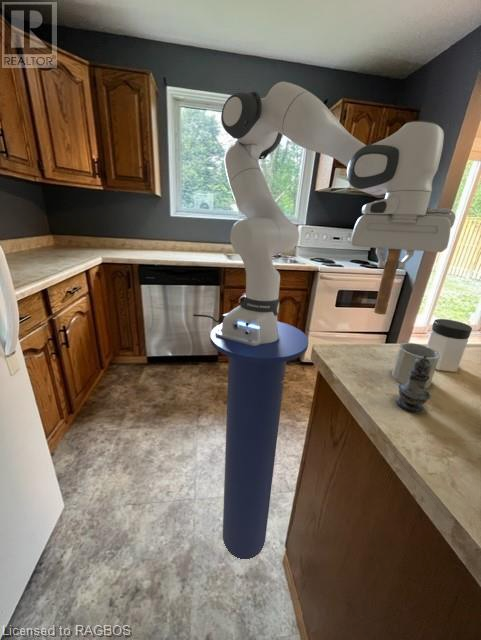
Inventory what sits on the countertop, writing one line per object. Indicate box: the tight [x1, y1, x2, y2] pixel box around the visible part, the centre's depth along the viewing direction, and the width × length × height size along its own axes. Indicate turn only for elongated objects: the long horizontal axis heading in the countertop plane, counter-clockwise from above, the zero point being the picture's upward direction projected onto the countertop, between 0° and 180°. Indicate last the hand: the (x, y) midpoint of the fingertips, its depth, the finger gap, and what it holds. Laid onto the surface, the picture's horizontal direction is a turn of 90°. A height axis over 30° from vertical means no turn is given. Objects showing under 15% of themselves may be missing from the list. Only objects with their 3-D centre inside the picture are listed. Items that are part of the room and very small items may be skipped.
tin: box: [391, 342, 440, 389], centre depth 66 cm, size 8×8×8 cm
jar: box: [426, 318, 473, 373], centre depth 73 cm, size 9×8×12 cm
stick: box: [373, 249, 402, 315], centre depth 67 cm, size 3×3×18 cm
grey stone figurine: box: [395, 355, 432, 414], centre depth 55 cm, size 6×6×12 cm
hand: (390, 268), depth 66 cm, fingers closed on stick, 3 cm apart
